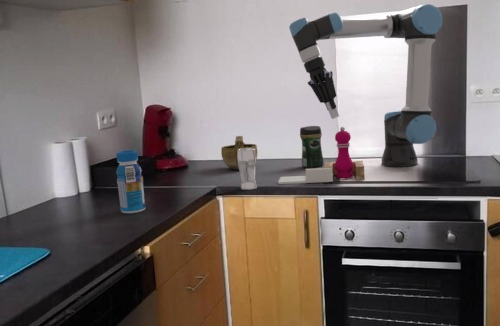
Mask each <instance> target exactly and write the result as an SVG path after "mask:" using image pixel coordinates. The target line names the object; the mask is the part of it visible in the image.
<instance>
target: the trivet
mask: <svg viewBox="0 0 500 326" xmlns="http://www.w3.org/2000/svg"><path fill="white" fill-rule="evenodd" d="M292 184H297V185H298V184H307V183H306V175H294V176H293V175H292V176H280V177H279V179H278V182H277V185H292Z"/></svg>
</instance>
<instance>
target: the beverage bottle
mask: <svg viewBox="0 0 500 326" xmlns="http://www.w3.org/2000/svg"><path fill="white" fill-rule="evenodd" d="M138 160H139V154H138V150H135V149H132V150H131V149H129V150H121V151H117V152H116V161H117V163H119V164H118V166H117V168H116V173H115V174H116V175H117V179H116V183H117V188H118V189H117V190H118V197H119V206H120V207H119V209H120V212H121V213H122V214H135V213H140V212H143V211H145V210H146V200H145V192H144V189H145V188H144V176H143V175H142V172H143V170H142V168H141V166H140V164H139V163H138Z"/></svg>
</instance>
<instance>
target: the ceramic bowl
mask: <svg viewBox="0 0 500 326" xmlns="http://www.w3.org/2000/svg"><path fill="white" fill-rule="evenodd" d="M243 140H244V137H243V135H237V136H235V139H234V144H230V145H224V146H221V149H220V150H221V151H220V152H221V158H222V161H223V164H224V165H225V166H226V167H228V168H230V169H231V170H232V169H233V170H236V171H239V166H238V149H243V148H255V154H256V160H257V158H258V147H257V144H255V143H254V144H253V143H245V142H244V141H243Z"/></svg>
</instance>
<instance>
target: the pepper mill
mask: <svg viewBox="0 0 500 326" xmlns="http://www.w3.org/2000/svg"><path fill="white" fill-rule="evenodd" d="M351 137H352V136H351V134H350V132H349V131H346V129H345V127H344V126H342V127H341V126H340V128H339V131H337V132H336V134H335V136H334V140H335V142H336V148H337V150H338V151H337V158H336V160H335V161H334V162H335V169H336V170H337V171H338V172H337V173H336V175H335V176H336V178H338V179H341V178H344V179H351V178H353V174H352V172H351V170H352V169H353V162H352V161H353V160H352V158H351V156H350V153H349V151H350V150H349V149H350V148H349V147H350V141H351V139H352V138H351Z"/></svg>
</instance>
